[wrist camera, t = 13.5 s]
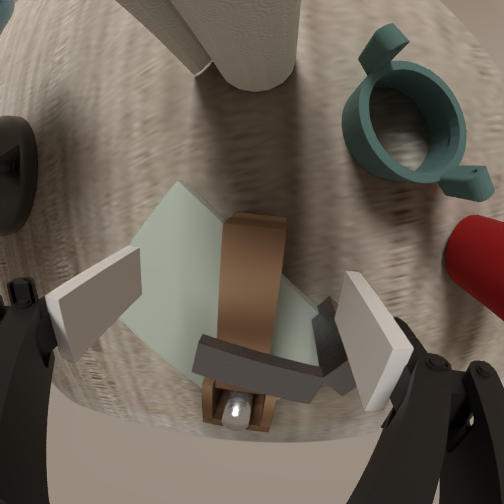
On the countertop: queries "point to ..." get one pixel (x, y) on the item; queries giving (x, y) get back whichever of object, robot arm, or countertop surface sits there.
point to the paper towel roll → (227, 36)
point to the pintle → (237, 410)
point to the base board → (200, 286)
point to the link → (247, 304)
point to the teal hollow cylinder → (434, 110)
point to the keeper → (280, 363)
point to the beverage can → (479, 260)
